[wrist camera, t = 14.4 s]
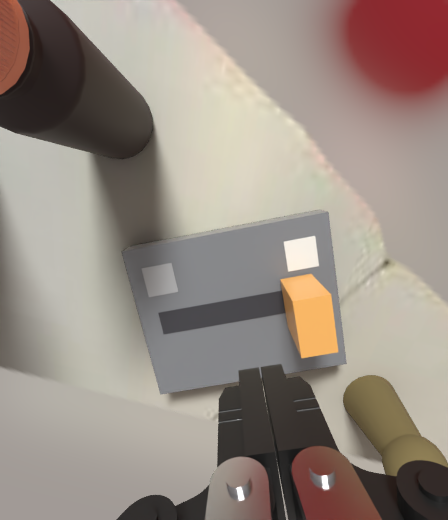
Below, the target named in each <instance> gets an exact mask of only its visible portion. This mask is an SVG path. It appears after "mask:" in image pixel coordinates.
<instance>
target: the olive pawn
mask: <svg viewBox="0 0 448 520" xmlns="http://www.w3.org/2000/svg"><path fill="white" fill-rule="evenodd" d="M343 403H344V406H345V409H346V410H347V411H348V413H349V414H350V415H351V417H352V418H353V419H354V421H355V422H356V423H357V424H358V426H359V427H360V428H361V430H362V431H363V432H364V434H365V435H366V436H367V438H368V439H369V440H370V441H371V443H372V444H373V445H374V447H375V448H376V449H377V451H378V452H379V453H380V455H381V456H382V463H383V467H384V470H385V474H386V475H391V476H397V472H398V470H399V468H400V467H401V466H402V465H404V464H405V463H407V462H410V461H415V460H426V461H431V462H435V463H438V464H441V465H443V466H445V467H448V463H447V461H446V459H445V457H444V456H443V454H442V453H441V451H440V450H439V449H438V448H437V446H436V445H434V444H433V443H432V442H430V441H429V440H427V439H426V438H424V437H422V436H421V434H420V433H419V431H418V429H417V428H416V426H415V424H414V423H413V421H412V419H411V417H410V416H409V414H408V412H407V411H406V409H405V407H404V405H403V404H402V402H401V400H400V399H399V397H398V395H397V393H396V392H395V390H394V388H393V387H392V385H391V384H390V383H389V382H388V381H387V380H386V379H384V378H382V377H379V376H375V375H367V376H363V377H360V378H358V379H356V380H355V381H353V382H352V383H351V384H350V385H349V386H348V387H347V388H346V391H345V393H344V397H343Z"/></svg>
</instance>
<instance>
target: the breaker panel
mask: <svg viewBox="0 0 448 520" xmlns="http://www.w3.org/2000/svg"><path fill="white" fill-rule="evenodd" d="M122 256H123V259H124V263H125V266H126V270H127V274H128V277H129V281H130V285H131V288H132V292H133V296H134V299H135V303H136V307H137V310H138V314H139V318H140V321H141V325H142V329H143V332H144V336H145V340H146V343H147V347H148V350H149V354H150V358H151V361H152V365H153V369H154V372H155V376H156V380H157V383H158V387H159V391H160V394H166V393H173V392H179V391H185V390H191V389H197V388H203V387H209V386H215V385H221V384H227V383H233V382H239V373H238V370H244V369H250V368H257V367H259V371H260V376H261V378H262V373H261V367H263V366H270V365H276V364H281V365H282V367H283V370H284V373H285V374H288V373H294V372H300V371H306V370H312V369H318V368H324V367H330V366H337V365H343V364H347V363H346V355H345V347H344V338H343V330H342V322H341V313H340V305H339V297H338V288H337V280H336V272H335V263H334V255H333V246H332V238H331V230H330V221H329V213H328V212H327V211H323V210H315V211H310V212H305V213H299V214H294V215H289V216H284V217H279V218H274V219H268V220H263V221H258V222H253V223H248V224H243V225H237V226H232V227H227V228H222V229H217V230H212V231H206V232H201V233H196V234H191V235H186V236H180V237H175V238H170V239H165V240H160V241H155V242H149V243H144V244H139V245H134V246H130V247H129V248H127V249H125V250H123V251H122ZM307 274H312V275H313V276H314V277H315V278H316V279H317V280H318V281H319V282H320V283H321V284H322V285H323V286H324V288H325V289H326V290H327V291H328V292H329V293H330V294H331V297H332V305H333V313H334V321H335V329H336V337H337V345H338V352H337V353H331V354H325V355H319V356H313V357H307V358H301V356H300V354H299V351H298V349H297V347H296V344H295V342H294V340H293V337H292V335H291V333H290V331H289V328H288V325H287V319H286V313H285V306H284V300H283V294H282V288H281V282H280V279H285V278H290V277H296V276H301V275H307Z"/></svg>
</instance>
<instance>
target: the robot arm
mask: <svg viewBox="0 0 448 520" xmlns="http://www.w3.org/2000/svg"><path fill="white" fill-rule="evenodd" d="M238 373H239V386H234V387H228V388H225V389H224V391H223V393H222V395H221V396H220V398H219V420H218V421H219V424H218V464H217V469H216V470H215V471H214V473H213V474H212V477H211V480H210V484H209V486H208V487H207V488H206V489H205V490H204V491H203V492H201V493H200V494H198V495H197V496H195V497H194V498H191V499H189V500H187V501H185V502H183V503H181V504H179V505H177V506H175V505H174V504H173V502H172V501H171V500H170V499H169V498H167V497H165V496H161V495H150V496H146V497H144V498H141V499H139V500H138V501H136V502H135V503H133V504H132V505H131V506H129V507H128V508H127V509H126V510H125V511H124V512H123V513H122V514H121V515H120V517H119V518H118V519H117V520H286V517H285V511H284V504H283V498H282V491H281V486H280V479H281V484H282V489H283V494H284V500H285V504H286V509H287V515H288V519H289V520H448V467H445V466H443V465H441V464H438V463H435V462H431V461H426V460H415V461H410V462H407V463H405V464H404V465H402V466H401V467H400V468H399V470H398V472H397V476H391V475H385V474H379V473H373V472H369V471H366V470H363V469H360V468H358V467H356V466H354V465H353V464H351V463H350V462H349V460H348V459H347V458H346V457H345V456H344V455H343V454H342V453H340V452H339V450H338V448H337V446H336V443H335V441H334V439H333V437H332V434H331V432H330V430H329V427H328V425H327V423H326V421H325V418H324V416H323V414H322V411H321V409H320V407H319V404H318V402H317V400H316V398H315V395H314V393H313V391H312V388H311V386H310V385H309V384H308V383H307V382H306V381H304V380H303V379H302V378H301V377H294V378H287V379H286V376H285V373H284V370H283V367H282V365H281V364H276V365H270V366H263V367H261V373H262V380H263V386H264V391H263V386H262V381H261V376H260V371H259V367H257V368H250V369H244V370H238ZM264 392H265V396H264ZM265 399H266V402H265ZM266 405H267V407H266ZM267 411H268V412H267ZM276 458H277V460H276ZM277 464H278V466H277ZM278 469H279V472H278ZM279 474H280V479H279Z"/></svg>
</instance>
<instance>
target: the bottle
mask: <svg viewBox="0 0 448 520" xmlns="http://www.w3.org/2000/svg"><path fill="white" fill-rule="evenodd" d="M0 127H2V128H5V129H7V130H10V131H12V132H15V133H18V134H21V135H25V136H29V137H33V138H37V139H41V140H44V141H48V142H52V143H56V144H60V145H64V146H67V147H71V148H75V149H79V150H83V151H87V152H90V153H94V154H98V155H102V156H106V157H110V158H116V159H125V158H129V157H132V156H134V155H136V154H137V153H139V152H140V151H142V150H143V148H144V147H145V146H146V144H147V143H148V142H149V139H150V136H151V133H152V116H151V112H150V108H149V106H148V104H147V103H146V101H145V100H144V98H143V96H142V95H141V94H140V93H139V92H138V91H137V90H136V89H135V88H134V87H133V86H132V85H131V84H130V83H129V81H128V80H127V79H126V78H125V77H124V76H123V75H122V74H121V73H120V72H119V71H118V70H117V69H116V68H115V66H114V65H113V64H112V63H111V62H110V61H109V60H108V59H107V58H106V57H105V56H104V55H103V54H102V53H101V51H100V50H99V49H98V48H97V47H96V46H95V45H94V44H93V43H92V42H91V41H90V40H89V39H88V38H87V36H86V35H85V34H84V33H83V32H82V31H81V30H80V29H79V28H78V27H77V26H76V25H75V24H74V23H73V21H72V20H71V19H70V18H69V17H68V16H67V15H66V14H65V13H64V12H63V11H61V10H60V9H59V8H58V7H57V6H56V5H55V4H54V3H52V2H51V1H50V0H0Z"/></svg>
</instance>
